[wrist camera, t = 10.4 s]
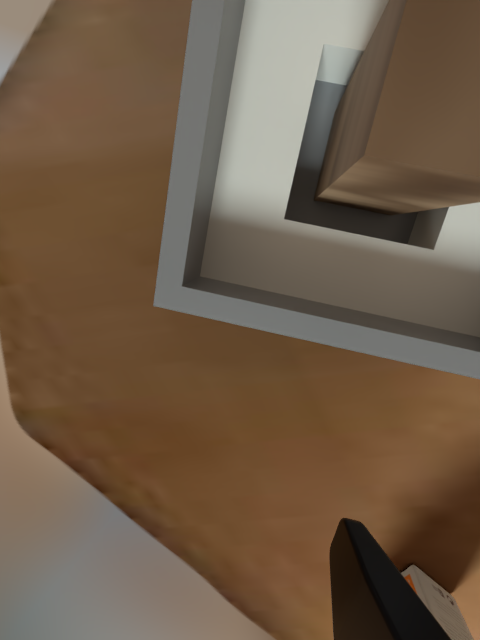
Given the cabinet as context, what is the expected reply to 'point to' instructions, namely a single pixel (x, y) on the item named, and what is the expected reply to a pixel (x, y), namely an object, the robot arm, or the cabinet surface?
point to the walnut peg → (410, 114)
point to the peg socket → (302, 198)
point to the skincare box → (438, 603)
